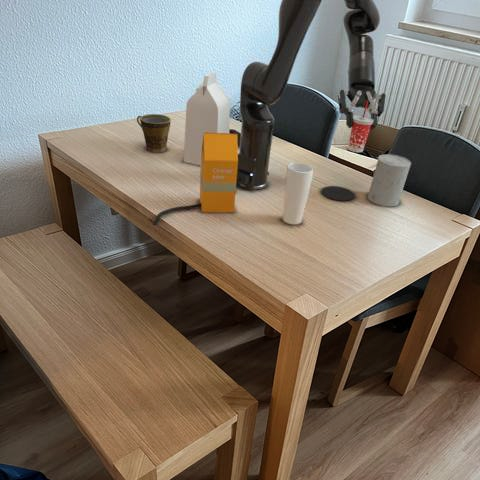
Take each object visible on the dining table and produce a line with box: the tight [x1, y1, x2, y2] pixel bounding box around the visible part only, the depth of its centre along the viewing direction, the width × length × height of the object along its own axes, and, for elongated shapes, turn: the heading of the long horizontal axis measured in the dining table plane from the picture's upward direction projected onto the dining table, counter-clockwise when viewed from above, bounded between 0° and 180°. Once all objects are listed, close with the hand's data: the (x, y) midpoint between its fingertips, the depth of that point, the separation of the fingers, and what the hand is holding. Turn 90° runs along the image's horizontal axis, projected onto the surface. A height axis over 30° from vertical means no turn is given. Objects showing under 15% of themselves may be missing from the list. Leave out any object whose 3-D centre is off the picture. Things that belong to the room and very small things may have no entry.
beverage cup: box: [347, 100, 374, 153], centre depth 138 cm, size 6×6×14 cm
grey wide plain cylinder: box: [367, 153, 412, 208], centre depth 142 cm, size 10×10×12 cm
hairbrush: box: [229, 128, 241, 148], centre depth 174 cm, size 8×4×25 cm
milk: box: [183, 71, 231, 166], centre depth 151 cm, size 12×12×26 cm
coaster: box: [321, 185, 355, 202], centre depth 146 cm, size 10×10×1 cm
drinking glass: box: [281, 162, 314, 226], centre depth 125 cm, size 7×7×15 cm
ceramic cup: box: [136, 113, 172, 153], centre depth 160 cm, size 13×10×10 cm
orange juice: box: [199, 133, 239, 213], centre depth 127 cm, size 8×9×20 cm
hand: (361, 127), depth 138 cm, fingers closed on beverage cup, 6 cm apart
